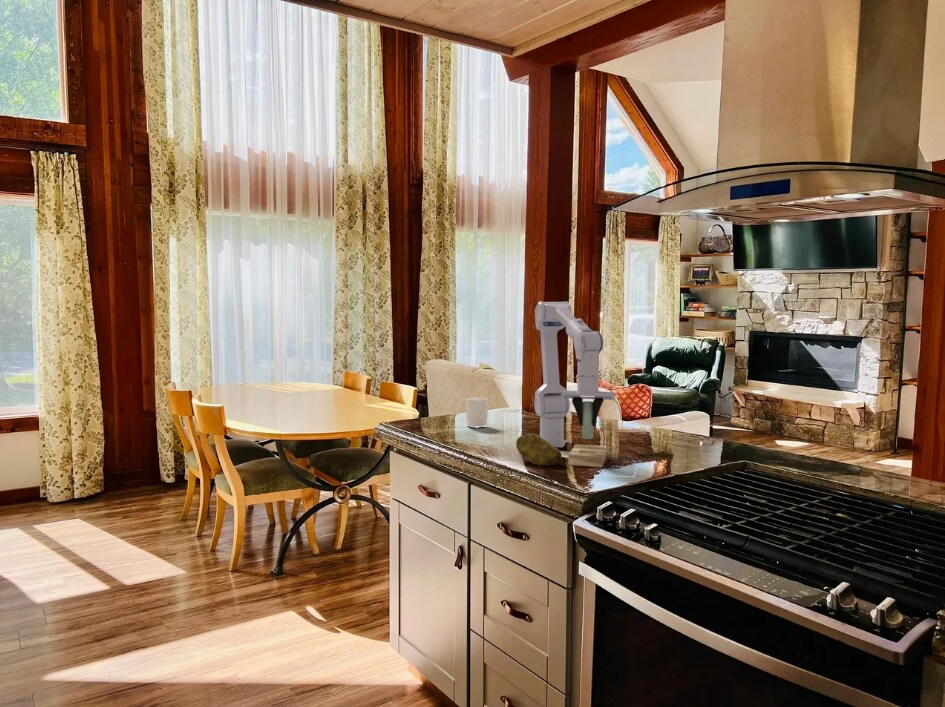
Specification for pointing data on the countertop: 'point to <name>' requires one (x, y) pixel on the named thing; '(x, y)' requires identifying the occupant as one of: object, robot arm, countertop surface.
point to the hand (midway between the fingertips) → (587, 425)
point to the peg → (587, 420)
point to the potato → (538, 450)
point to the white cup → (477, 411)
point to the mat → (565, 454)
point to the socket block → (587, 455)
